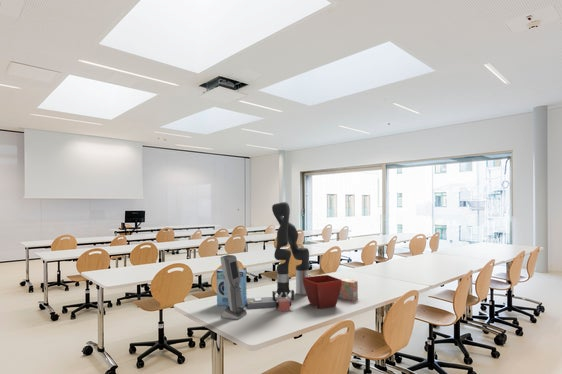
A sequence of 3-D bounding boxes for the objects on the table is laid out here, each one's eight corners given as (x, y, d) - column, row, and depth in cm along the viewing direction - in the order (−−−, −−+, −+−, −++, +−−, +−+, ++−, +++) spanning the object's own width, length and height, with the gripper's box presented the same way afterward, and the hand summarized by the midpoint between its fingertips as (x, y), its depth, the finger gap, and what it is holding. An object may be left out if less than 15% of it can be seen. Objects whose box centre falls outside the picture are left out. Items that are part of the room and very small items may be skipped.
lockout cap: (287, 306, 219) (287, 298, 219) (289, 310, 211) (289, 301, 211) (277, 306, 217) (277, 299, 218) (279, 310, 210) (279, 302, 210)
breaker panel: (284, 300, 231) (284, 294, 232) (288, 305, 220) (288, 299, 220) (246, 303, 227) (246, 297, 227) (247, 308, 215) (247, 302, 215)
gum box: (246, 305, 222) (246, 270, 223) (243, 307, 217) (243, 271, 218) (220, 303, 228) (219, 268, 229) (216, 305, 223) (216, 270, 224)
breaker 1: (260, 301, 225) (260, 298, 225) (261, 303, 220) (261, 300, 220) (254, 302, 224) (254, 298, 225) (255, 304, 219) (255, 300, 220)
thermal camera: (229, 311, 210) (228, 254, 211) (247, 313, 205) (247, 255, 207) (218, 317, 199) (218, 257, 201) (238, 320, 194) (237, 258, 196)
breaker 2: (278, 298, 227) (278, 294, 227) (279, 300, 222) (279, 296, 222) (272, 298, 227) (272, 295, 227) (273, 301, 222) (273, 297, 222)
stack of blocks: (327, 295, 243) (326, 278, 244) (331, 293, 248) (331, 276, 248) (353, 300, 229) (353, 282, 229) (358, 298, 234) (357, 280, 234)
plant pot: (302, 302, 226) (302, 277, 226) (327, 299, 233) (326, 274, 234) (316, 311, 208) (316, 283, 209) (343, 307, 215) (342, 280, 216)
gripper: (293, 278, 220) (293, 304, 219) (271, 279, 217) (271, 306, 217) (295, 281, 212) (295, 308, 212) (272, 282, 210) (273, 310, 209)
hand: (283, 307), depth 214 cm, fingers closed on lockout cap, 6 cm apart
